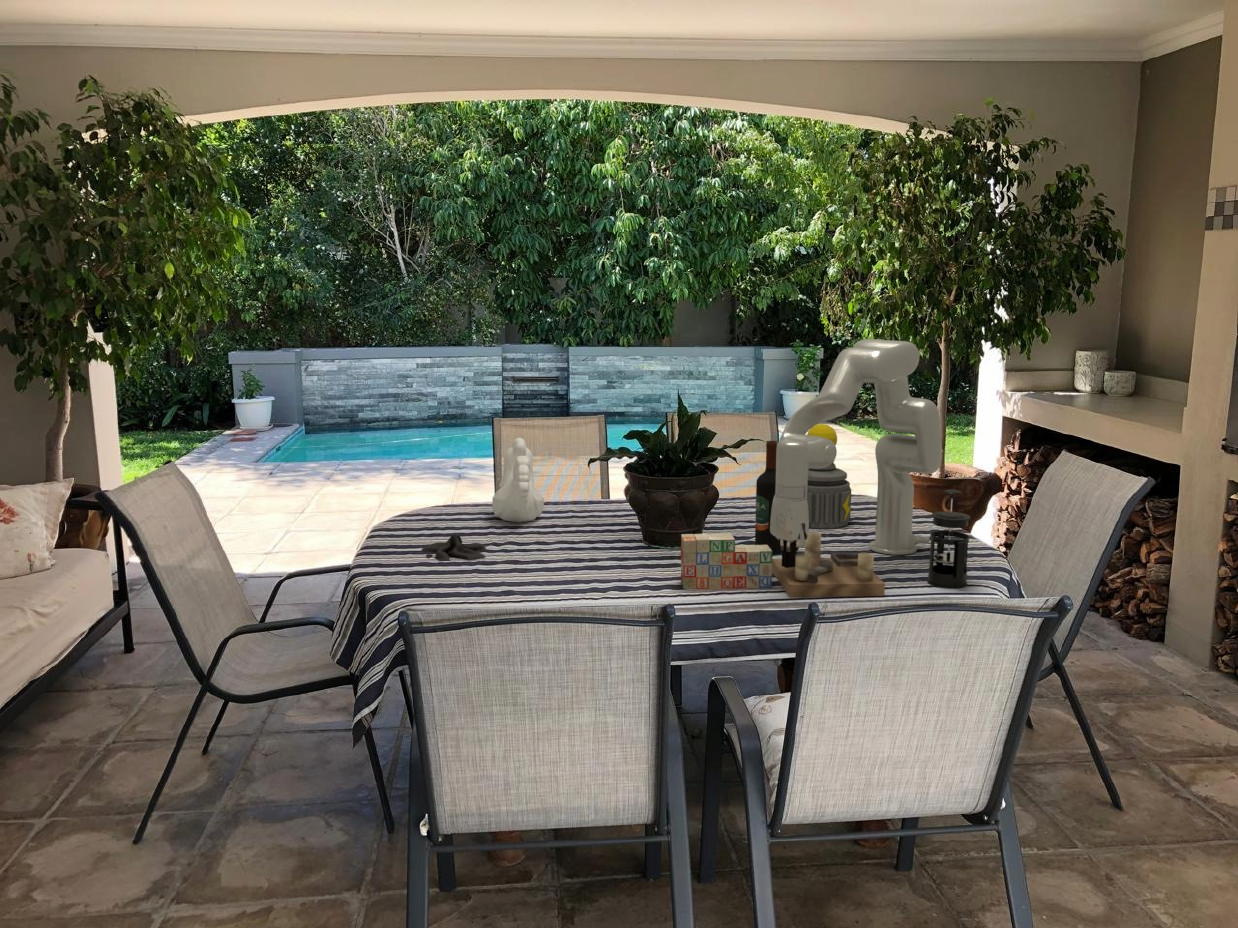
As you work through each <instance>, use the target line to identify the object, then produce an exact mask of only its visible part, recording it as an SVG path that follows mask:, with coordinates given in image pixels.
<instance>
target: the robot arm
mask: <svg viewBox="0 0 1238 928" xmlns="http://www.w3.org/2000/svg"><path fill="white" fill-rule="evenodd" d="M919 351H920V350H919V349H918V347H917V346H916V345H915V344H914V343H913V342H910V341H906V340H904V341H903V340H888V339H879V338H877V339H873V338H872V339H871V338H870V339H869V338H866V339H860V340H858V341H857V342H855V344H854V345H853V347H847V348H844V349H842V350H841V352H839V353H838V355H837V358H836V359H835V361H834V363H833V366H832V367H831V370H830V371H829V374H828V375H827V378H826V380H825V382H824V384H823V386H822V388H821V390H820V392H819V394H818V395H817V396H816V397H814V398H812V399H811V400H810V401H808V402H807V403H805V404H804V405H802V406H801V407H800V408H799V409H798V410H796V411H795V412H794V413H793V414H792V415H791V417H790V418H789V419H788V421H787V423H786V425H785V426H784V428H783V431H782V433H781V435H780V438H779V440H778V441H777V453H776V488H775V495H774V499H773V503H772V510H771V520H770V532H771V534H772V535H774V536H775V537H776V538H777V539H778V540H779V541H780V544H781V550H782V553H781V559H782V566H783V567H785V568H790V567H795V556H796V554H798V552H799V550H800V548H805V540H807V538H808V533H809V532H810V528H809V513H808V503H807V491H808V469H809V468H825V467H828V466H829V465H831V464H832V463H833V462H835V459H837V455H838V454H837V452H838V451H837V447H836V446H835V444H834V443H833V442H832V441H831V440H829V439H827V438H824V437H818V436H812V435H807V434H808V431H809V430H810V429H811V428H812V427H813V426H815V425H817V424H822V423H823V422H826V421H829V420H832V419H835V418H838V417H841V416H843V415H846V414H848V413H849V412H850V411H851V410H852V408H853V405H854V403H855V402H856V400H857V397H858V395H859V393H860V391H861V389H862V387H863V385H864V384H865V383H867V384H868V383H869V384H873V385H874V389H875V390H874V392H875V399H876V400H875V401H876V402H875V403H876V411H877V418H878V419H877V420H878V424H879V426H880V427H881V429H882V430H885V431H887V432H893V433H889V434H885V435H883V436H882V437H880V438H879V439H878V441H877V442H876V445H875V449H874V450H875V451H874V452H875V453H874V455H875V460H876V467H877V494H876V514H875V515H876V516H875V517H876V518H875V534H874V535H875V538H874V540H873V541H870V542H869V543H868V548H869V549H870V550H871V551H873V552H875V553H879V554H885V555H894V556H895V555H896V556H899V555H900V556H901V555H911V554H914V553H916V552H917V550H918V546H917V545H918V544H930V536H928V535H927V536H925V535H924V536H923V535H922V534H921V535H920V534H919V535H918V534H916V535H915V534H914V533H913V517H914V516H913V515H914V497H915V496H914V495H915V486H914V481H913V479H912V477H911V475H910V473H913V474H915V473H917V474H923V475H931V474H934V473H936V472H937V471H938V470H939V469H940V467H941V464H942V460H943V443H942V442H943V441H942V430H941V416H940V412H939V408H938V407H937V405H936V403H935V402H933V401H932V400H930V399H928V398H920V397H913V396H911V393H910V390H909V389H910V387H909V380H908V376H909V375H911V374H913V373H914V372H915V370H916V369H917V367H918V365H919V362H920V352H919ZM898 433H899V434H898Z"/></svg>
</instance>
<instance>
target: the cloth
mask: <svg viewBox="0 0 1238 928" xmlns="http://www.w3.org/2000/svg"><path fill="white" fill-rule="evenodd" d="M420 552H421V553H424V552H426V555H425V558H426V559H430V558H432V557H433V556H434V554H431V553H435V557H434V559H435V560H436V561H438V562H441V561H450V562H451V559H450V557H449V556H451V558H453V557H454V558H461V559H464V560H465V561H469V562H470V561H475V560H482V559H486V555H484V554H483V553H481V552H487V547H486V546H485V545H483V544H482V543H478V542H473V543H467V544H463V540H462V537H461V535H460V533H456V532H455V533H452V534H451V535H450V537H449V538H448V540H446V542H438V541H437V542H434V543H431V544H428V545H425V546H424V547H422V548H421V550H420Z"/></svg>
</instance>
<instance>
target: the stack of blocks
mask: <svg viewBox="0 0 1238 928" xmlns="http://www.w3.org/2000/svg"><path fill="white" fill-rule="evenodd" d="M680 536H681V537H680V539H681V540H680V541H681V542H680V543H681V545H680V583H681V585H682V589H683V590H720V589H721V590H723V589H724V590H725V589H728V590H730V589H771V588H772V581H773V580H772V577H773V572H772V559H773V554H772V550H771V549H770V548H769V546H768V545H755V544H736V539H735V537H734V536H733V534H732V533H730V532H729V533H728V532H727V533H725V532H724V533H723V532H722V533H695V534H694V533H685V534H684V533H682V534H681V535H680Z"/></svg>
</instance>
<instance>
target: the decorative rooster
mask: <svg viewBox="0 0 1238 928" xmlns="http://www.w3.org/2000/svg"><path fill="white" fill-rule="evenodd" d="M533 461H534V459H533V453H532V452H531V450H530V449H529V448H528V447H527V443H526V440H525V439H524V438H523V437H517V438H515V439H514V440H513V442H512V446H510V447H509V448H508V449H507V450H506V451H505V454H504V459H503V471H502V472H503V473H502V477H501V479H500V482H499V485H498V487H499V489H498V490H497V491H496V492H495V493H494V495H493V496H492V499H491V501H492V502H491V503H492V504H491V505H492V506H491V507H492V510H493V513H494V515H495V516H498V517H499V519H501V520H503V521H506V522H512V523H526V522H532V521H534V520H536V518H537V517H541V516H542V513H543V511H544V506H545V504H544V503H545V498H544V496H543V494H542V493H541V491H540V490H539V489H538V488H537V487H536V486H535V482H534V470H533V469H534V463H533Z"/></svg>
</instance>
